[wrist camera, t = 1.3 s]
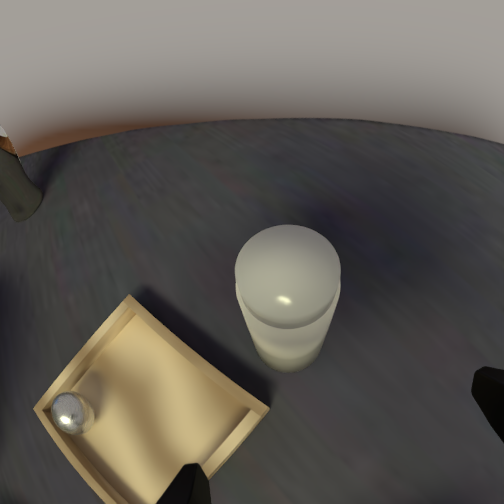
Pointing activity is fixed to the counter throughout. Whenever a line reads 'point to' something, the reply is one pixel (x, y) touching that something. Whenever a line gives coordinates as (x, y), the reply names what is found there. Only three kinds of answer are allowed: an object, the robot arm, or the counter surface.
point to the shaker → (288, 294)
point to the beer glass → (16, 183)
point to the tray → (148, 409)
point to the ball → (72, 412)
